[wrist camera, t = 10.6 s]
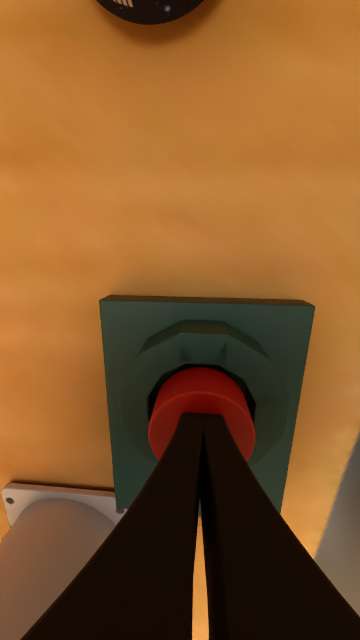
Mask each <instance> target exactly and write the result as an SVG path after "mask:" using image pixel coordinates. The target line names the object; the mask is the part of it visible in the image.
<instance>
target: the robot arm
mask: <svg viewBox="0 0 360 640" xmlns="http://www.w3.org/2000/svg"><path fill="white" fill-rule="evenodd" d="M2 497H3V501H4V505H5V509H6V513H7V517H8V521H9V525H10V529H9V531H8V532H7V534H6V535H5V537H4V538H3V540H2V541H1V542H0V640H192V604H193V573H194V561H195V549H196V538H197V526H198V514H199V503H200V506H201V519H202V532H203V545H204V558H205V572H206V585H207V598H208V619H209V640H360V617H359V615H358V614H357V613H356V612H355V611H354V610H353V608H352V607H351V606H350V605H349V604H348V603H347V601H346V600H345V599H344V598H343V597H342V595H341V594H340V593H339V592H338V590H337V589H336V588H335V587H334V585H333V584H332V583H331V581H330V580H329V579H328V578H327V577H326V575H325V574H324V573H323V571H322V570H321V569H320V567H319V566H318V565H317V564H316V562H315V561H314V560H313V559H312V557H311V556H310V555H309V553H308V552H307V551H306V549H305V548H304V547H303V545H302V544H301V543H300V541H299V540H298V539H297V537H296V536H295V535H294V533H293V532H292V531H291V529H290V528H289V526H288V525H287V524H286V522H285V521H284V519H283V518H282V516H281V515H280V514H279V512H278V511H277V509H276V508H275V506H274V505H273V503H272V502H271V500H270V499H269V497H268V496H267V494H266V493H265V491H264V490H263V488H262V487H261V485H260V483H259V482H258V480H257V479H256V477H255V475H254V474H253V472H252V470H251V469H250V467H249V465H248V464H247V462H246V460H245V459H244V457H243V455H242V453H241V452H240V450H239V448H238V446H237V444H236V442H235V440H234V438H233V437H232V434H231V432H230V430H229V428H228V426H227V424H226V421H225V419H224V417H223V416H222V415H221V414H206V413H189V412H184V413H182V414H181V415H180V419H179V422H178V424H177V427H176V429H175V431H174V434H173V436H172V438H171V440H170V442H169V444H168V446H167V447H166V449H165V451H164V453H163V455H162V457H161V458H160V460H159V462H158V464H157V465H156V467H155V469H154V470H153V472H152V474H151V475H150V477H149V478H148V480H147V481H146V483H145V485H144V486H143V488H142V489H141V491H140V492H139V494H138V495H137V497H136V498H135V500H134V501H133V503H132V504H131V506H130V507H129V508H128V509H121V508H116V500H115V492H111V491H100V490H88V489H77V488H65V487H54V486H42V485H31V484H19V483H8V484H6V486H5V487H4V488H3V489H2Z"/></svg>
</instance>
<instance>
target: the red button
mask: <svg viewBox="0 0 360 640" xmlns="http://www.w3.org/2000/svg"><path fill="white" fill-rule="evenodd" d="M184 412H189V413H206V414H221V415H222V416H223V417H224V419H225V421H226V424H227V426H228V428H229V430H230V432H231V434H232V437H233V438H234V440H235V442H236V444H237V446H238V448H239V450H240V452H241V453H242V455H243V457H244V459H245V460H246V462H247V460H248V459H249V457H250V456H251V454H252V451H253V449H254V444H255V428H254V425H253V422H252V419H251V415H250V412H249V409H248V406H247V403H246V399H245V396H244V394H243V392H242V390H241V388H240V387H239V385H238V384H237V383H236V382H235V381H234V380H233V379H232V378H231V377H229V376H228V375H226V374H224V373H222V372H220V371H218V370H215V369H211V368H205V367H195V368H189V369H185V370H182V371H180V372H178V373H176V374H174V375H172V376H171V377H170V378H169V379H168V380H166V381H165V383H164V384H163V385H162V387H161V388H160V390H159V393H158V395H157V399H156V402H155V405H154V409H153V412H152V415H151V419H150V422H149V427H148V438H149V443H150V446H151V449H152V451H153V453H154V455H155V456H156V458H157V459H158V460H160V458H161V457H162V455H163V453H164V451H165V449H166V447H167V446H168V444H169V442H170V440H171V438H172V436H173V434H174V431H175V429H176V427H177V424H178V422H179V419H180V415H181V414H182V413H184Z"/></svg>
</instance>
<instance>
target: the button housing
mask: <svg viewBox="0 0 360 640" xmlns="http://www.w3.org/2000/svg"><path fill="white" fill-rule="evenodd" d="M99 303H100V315H101V328H102V340H103V352H104V364H105V377H106V389H107V401H108V414H109V426H110V438H111V451H112V463H113V475H114V488H115V500H116V508H121V509H128V508H129V507H130V506H131V504H132V503H133V501H134V500H135V498H136V497H137V495H138V494H139V492H140V491H141V489H142V488H143V486H144V485H145V483H146V481H147V480H148V478H149V477H150V475H151V474H152V472H153V470H154V469H155V467H156V465H157V464H158V462H159V460H158V459H157V458H156V456H155V455H154V453H153V451H152V449H151V446H150V443H149V438H148V427H149V422H150V419H151V415H152V412H153V409H154V405H155V402H156V399H157V395H158V393H159V390H160V388H161V387H162V385H163V384H164V383H165V381H166V380H168V379H169V378H170V377H171V376H172V375H174V374H176V373H178V372H180V371H182V370H185V369H189V368H195V367H205V368H211V369H215V370H218V371H220V372H222V373H224V374H226V375H228V376H229V377H231V378H232V379H233V380H234V381H235V382H236V383H237V384H238V385H239V387H240V388H241V390H242V392H243V394H244V396H245V399H246V403H247V406H248V409H249V412H250V415H251V419H252V422H253V425H254V428H255V444H254V449H253V451H252V454H251V456H250V457H249V459H248V460H247V464H248V465H249V467H250V469H251V470H252V472H253V474H254V475H255V477H256V479H257V480H258V482H259V483H260V485H261V487H262V488H263V490H264V491H265V493H266V494H267V496H268V497H269V499H270V500H271V502H272V503H273V505H274V506H275V508H276V509H277V511H278V512H279V514H280V512H281V506H282V500H283V494H284V488H285V482H286V476H287V470H288V464H289V458H290V453H291V447H292V441H293V435H294V429H295V423H296V417H297V411H298V405H299V399H300V393H301V387H302V382H303V376H304V370H305V364H306V358H307V352H308V346H309V340H310V334H311V328H312V322H313V316H314V311H315V306H314V305H312V304H310V303H308V302H306V301H303V300H276V299H237V298H198V297H159V296H120V295H109V296H107V297H105V298H103V299H100V301H99ZM198 516H201V506H200V503H199V514H198Z"/></svg>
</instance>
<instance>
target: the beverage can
mask: <svg viewBox="0 0 360 640" xmlns="http://www.w3.org/2000/svg"><path fill="white" fill-rule="evenodd" d="M97 1H98V2H99V3H100V4H101V5H102V6H103V7H104V8H106V9H107V10H108V11H110V12H111V13H113V14H114V15H116V16H118V17H120V18H122V19H124V20H127V21H130V22H133V23H137V24H146V25H153V24H162V23H166V22H170V21H173V20H175V19H178V18H180V17H182V16H184V15H185V14H187V13H189V12H190V11H192V10H193V9H194V8H196V7H197V6H198V5H199V4H201V3H202V2H203V1H204V0H97Z"/></svg>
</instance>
